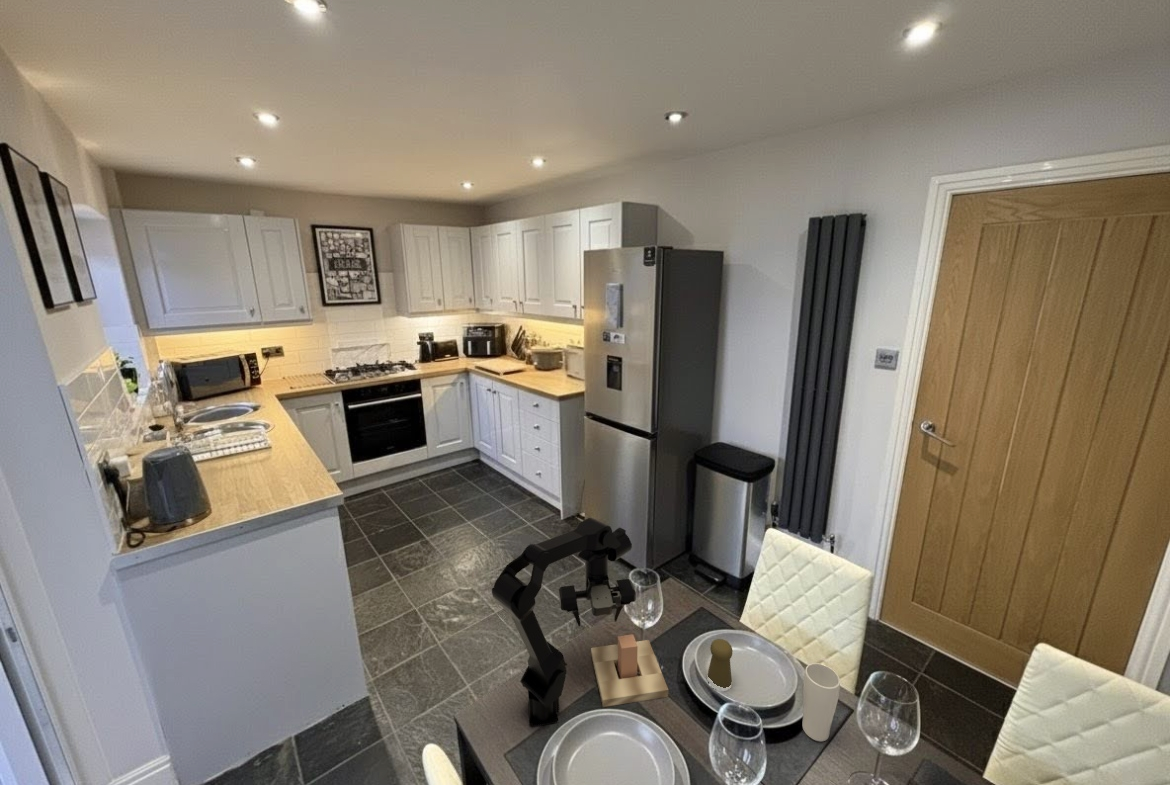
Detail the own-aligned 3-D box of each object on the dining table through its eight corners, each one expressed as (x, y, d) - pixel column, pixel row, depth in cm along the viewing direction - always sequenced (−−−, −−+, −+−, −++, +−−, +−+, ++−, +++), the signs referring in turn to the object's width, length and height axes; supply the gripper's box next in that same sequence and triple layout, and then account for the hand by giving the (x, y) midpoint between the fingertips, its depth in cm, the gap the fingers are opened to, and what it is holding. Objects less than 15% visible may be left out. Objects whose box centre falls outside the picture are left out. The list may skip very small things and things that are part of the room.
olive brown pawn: (733, 693, 111) (736, 655, 109) (707, 689, 112) (709, 651, 110) (730, 673, 117) (733, 636, 114) (706, 669, 118) (708, 633, 116)
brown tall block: (621, 682, 115) (621, 648, 112) (617, 669, 119) (617, 636, 116) (637, 679, 115) (637, 646, 113) (632, 667, 119) (633, 634, 117)
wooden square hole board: (602, 707, 108) (602, 700, 108) (590, 654, 123) (590, 648, 123) (668, 696, 111) (668, 689, 110) (648, 646, 126) (648, 639, 125)
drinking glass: (831, 752, 97) (839, 694, 94) (796, 736, 101) (802, 679, 97) (833, 726, 103) (841, 670, 99) (800, 712, 106) (807, 657, 103)
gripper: (562, 594, 104) (564, 652, 108) (642, 584, 107) (641, 641, 110) (557, 565, 115) (559, 619, 118) (630, 557, 117) (629, 610, 121)
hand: (597, 622), depth 117 cm, fingers open, 9 cm apart
